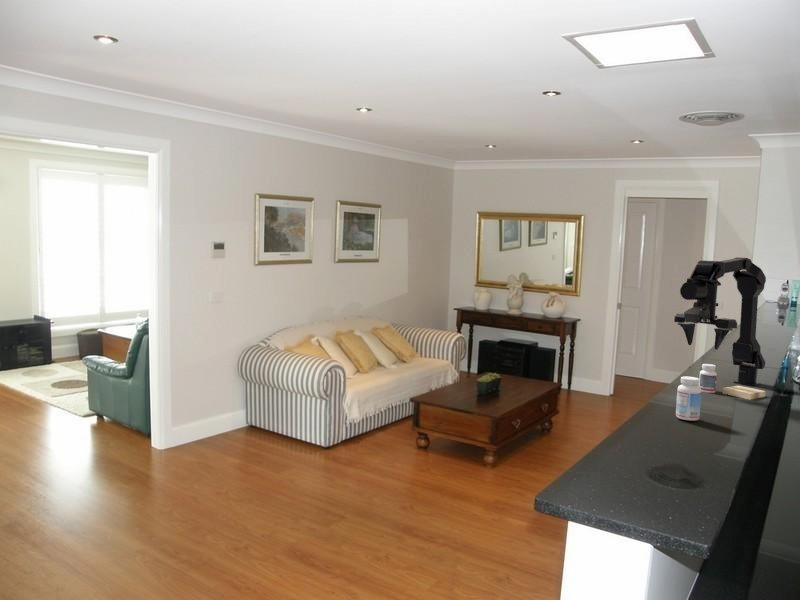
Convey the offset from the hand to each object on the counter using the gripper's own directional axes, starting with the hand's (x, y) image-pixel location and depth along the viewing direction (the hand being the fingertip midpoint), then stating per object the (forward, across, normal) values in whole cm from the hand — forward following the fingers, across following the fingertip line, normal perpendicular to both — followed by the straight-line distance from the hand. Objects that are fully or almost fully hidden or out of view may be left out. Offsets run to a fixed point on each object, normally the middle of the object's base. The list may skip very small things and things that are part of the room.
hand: (702, 347), depth 207 cm
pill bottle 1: (+15, +18, -34) cm, 41 cm away
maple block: (+16, +9, +10) cm, 21 cm away
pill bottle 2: (+15, 0, +4) cm, 16 cm away
